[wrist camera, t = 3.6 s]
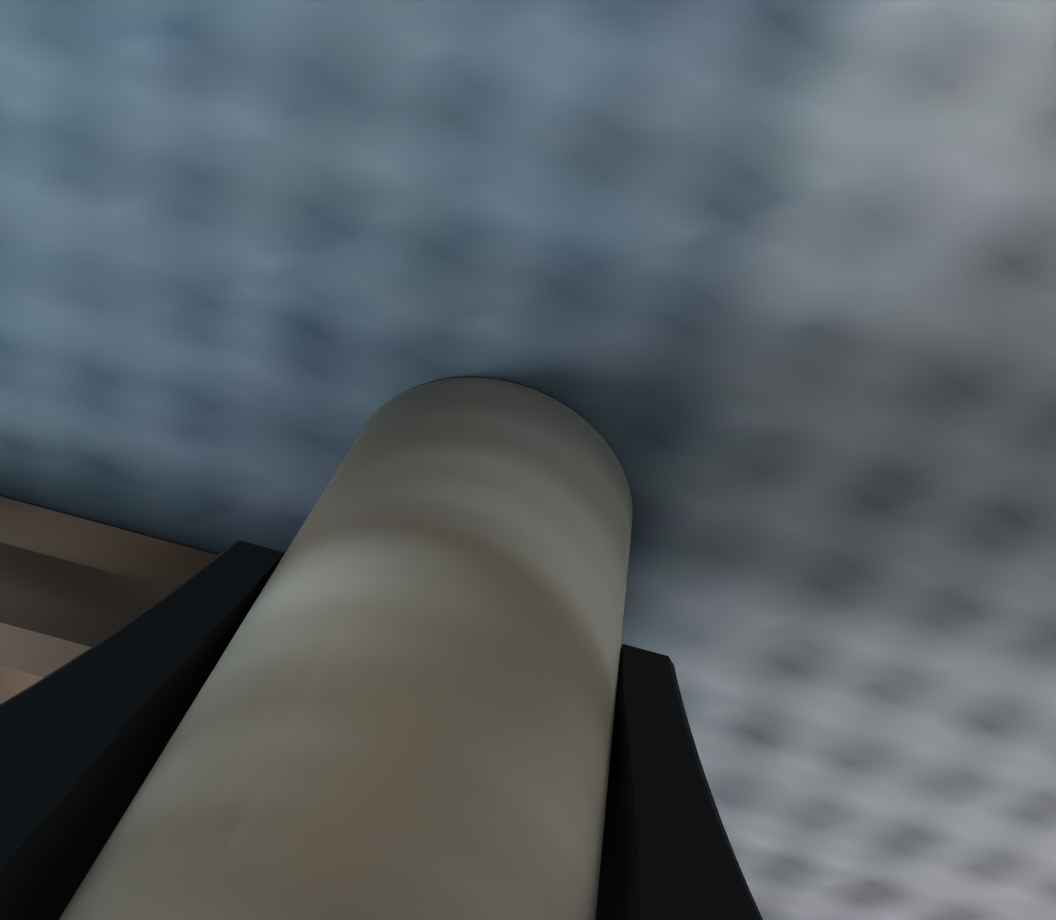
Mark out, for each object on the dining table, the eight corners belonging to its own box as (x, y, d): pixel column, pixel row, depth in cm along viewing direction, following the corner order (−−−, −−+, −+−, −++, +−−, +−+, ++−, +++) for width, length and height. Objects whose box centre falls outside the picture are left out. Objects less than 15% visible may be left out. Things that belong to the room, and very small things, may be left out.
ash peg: (333, 575, 15) (44, 1125, 8) (361, 342, 12) (-20, 859, 6) (590, 645, 15) (509, 1256, 8) (670, 425, 12) (648, 1046, 6)
